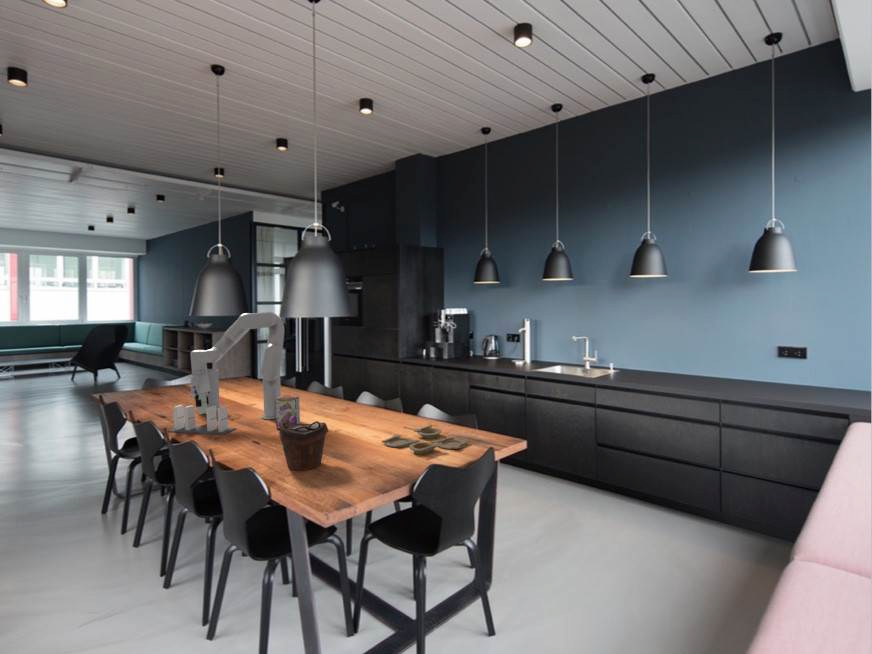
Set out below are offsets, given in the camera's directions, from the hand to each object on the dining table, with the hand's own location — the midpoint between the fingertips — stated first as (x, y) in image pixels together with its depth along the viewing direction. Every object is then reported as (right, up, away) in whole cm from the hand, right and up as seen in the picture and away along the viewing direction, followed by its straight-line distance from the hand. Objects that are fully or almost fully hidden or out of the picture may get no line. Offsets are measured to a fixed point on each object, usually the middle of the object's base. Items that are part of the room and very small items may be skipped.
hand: (202, 405), depth 272 cm
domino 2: (0, -10, -14) cm, 18 cm away
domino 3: (0, -5, 0) cm, 5 cm away
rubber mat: (+7, -11, -16) cm, 20 cm away
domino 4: (+13, -10, -17) cm, 24 cm away
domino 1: (-6, -10, -13) cm, 17 cm away
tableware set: (+123, -11, -48) cm, 133 cm away
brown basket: (+76, -13, -73) cm, 106 cm away
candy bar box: (+52, -10, -15) cm, 55 cm away
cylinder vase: (-10, -9, +29) cm, 32 cm away
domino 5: (+19, -10, -18) cm, 29 cm away
